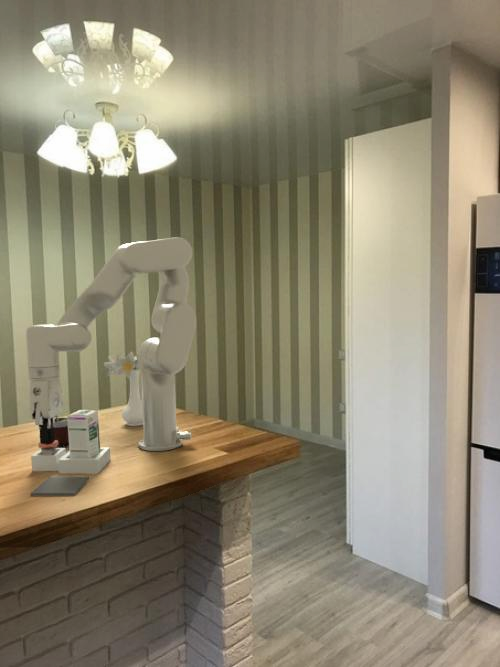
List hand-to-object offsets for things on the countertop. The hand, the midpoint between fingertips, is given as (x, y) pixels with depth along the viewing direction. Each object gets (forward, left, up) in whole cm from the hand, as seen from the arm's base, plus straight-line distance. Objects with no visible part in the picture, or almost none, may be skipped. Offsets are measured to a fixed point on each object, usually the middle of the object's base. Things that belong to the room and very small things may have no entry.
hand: (47, 442), depth 136 cm
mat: (-9, +14, -7) cm, 18 cm away
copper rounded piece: (0, 0, -6) cm, 6 cm away
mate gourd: (+4, -18, -7) cm, 20 cm away
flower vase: (-12, -42, -7) cm, 44 cm away
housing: (-6, 0, -7) cm, 9 cm away
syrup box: (-10, 0, -7) cm, 12 cm away
